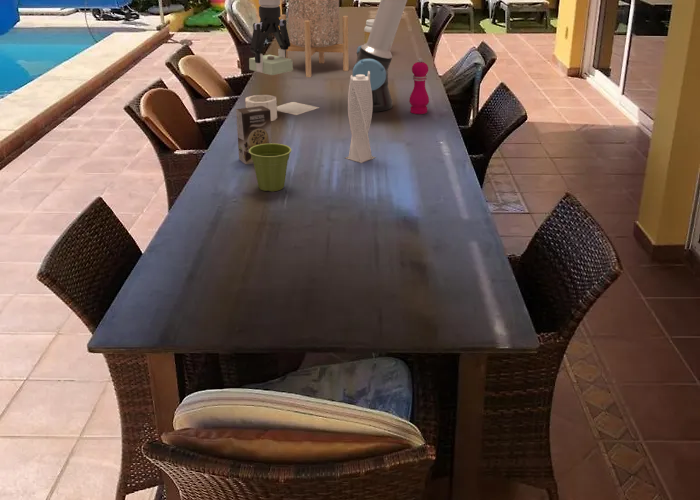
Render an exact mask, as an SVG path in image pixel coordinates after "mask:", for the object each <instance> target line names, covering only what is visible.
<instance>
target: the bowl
mask: <svg viewBox="0 0 700 500" xmlns="http://www.w3.org/2000/svg"><path fill="white" fill-rule="evenodd" d="M244 102H245V108H249V107H257V106H264V107H266V108H268V109H269V110H270V114H271V122H274V121H276V120H278V111H277V106H278V104H277V103H278V102H277V96H274V95H270V94H255V95H250V96H247V97H245V101H244Z"/></svg>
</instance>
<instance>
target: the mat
mask: <svg viewBox="0 0 700 500" xmlns="http://www.w3.org/2000/svg"><path fill="white" fill-rule="evenodd" d="M318 109H320V107H318V106H314V105H310V104H307V103H306V104H304V103H299V102H296V101H291V102H287V103H283V104H280V105H277V112H281V113H285V114H289V115H294V116H298V115H302V114H304V113H308V112H310V111H314V110H318Z"/></svg>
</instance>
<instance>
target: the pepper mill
mask: <svg viewBox="0 0 700 500" xmlns="http://www.w3.org/2000/svg"><path fill="white" fill-rule="evenodd" d="M423 61H424V60H423V58H422V57H419V58H417V62H415V63H413V65H412V67H411V72H412V74H413V75H412V77H413V78H412V80H413V83H414V84H413V85H414V86H413V89H412V92H411V93H410V94H409V95H410V96H409V101H408V102H409V103H410V104H409V105H411V106H410V109H409V112H410V113H411V114H415V115H423V114H427V113H428V104H429V102H430V98H429V94H428V92H427V89H426V80H427V77H428V76H427V74H428V73H429V65H428V64H427V63H426V62H423Z"/></svg>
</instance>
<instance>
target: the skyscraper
mask: <svg viewBox="0 0 700 500" xmlns="http://www.w3.org/2000/svg"><path fill="white" fill-rule="evenodd" d="M372 109H373V101H372V90H371V83H370V71H368V76H365V75H362V74H359V75H356V77H353V74H351V75H350V77H349V86H348V94H347V114H348V115H347V116H348V117H347V118H348V123H349V128H350V133H351V138H350V145H349V150H348V156H347V157H344V159H346V160H348V161H352V162H355V163H359V164H364V163H365V162H369V161H371V160H375V159H377V156H374V155H372V150H371V144H370V143H371V142H370V139H369V131H370V127H371V123H372V118H373V117H372V116H373V112H372Z"/></svg>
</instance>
